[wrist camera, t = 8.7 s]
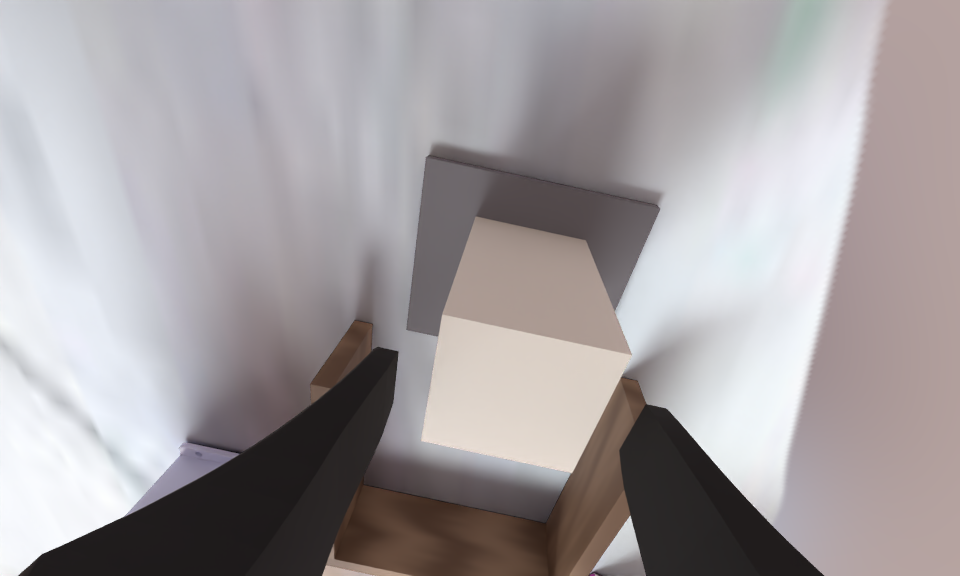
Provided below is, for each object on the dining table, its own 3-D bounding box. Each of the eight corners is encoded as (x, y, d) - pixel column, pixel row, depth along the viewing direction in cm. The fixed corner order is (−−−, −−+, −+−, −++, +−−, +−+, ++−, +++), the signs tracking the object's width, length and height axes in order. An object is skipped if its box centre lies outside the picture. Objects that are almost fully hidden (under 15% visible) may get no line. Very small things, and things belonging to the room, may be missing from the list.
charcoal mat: (408, 324, 20) (406, 329, 20) (428, 155, 16) (426, 157, 16) (587, 362, 20) (589, 368, 20) (656, 205, 16) (660, 208, 16)
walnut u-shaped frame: (350, 489, 28) (319, 563, 24) (355, 320, 21) (310, 384, 16) (555, 533, 29) (560, 614, 24) (637, 381, 21) (668, 460, 16)
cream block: (457, 309, 19) (421, 441, 12) (475, 216, 17) (442, 314, 10) (553, 329, 19) (572, 473, 12) (585, 240, 17) (631, 355, 10)
